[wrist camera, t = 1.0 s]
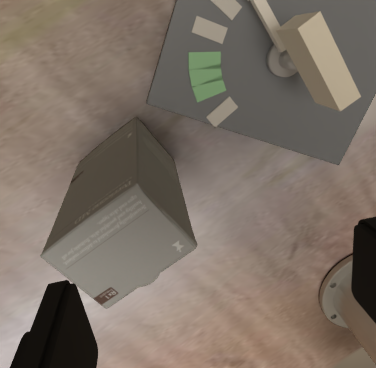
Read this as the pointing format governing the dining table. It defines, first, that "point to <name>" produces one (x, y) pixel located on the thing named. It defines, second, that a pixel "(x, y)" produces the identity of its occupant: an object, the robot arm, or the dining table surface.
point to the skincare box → (121, 217)
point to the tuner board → (263, 73)
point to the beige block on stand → (308, 56)
